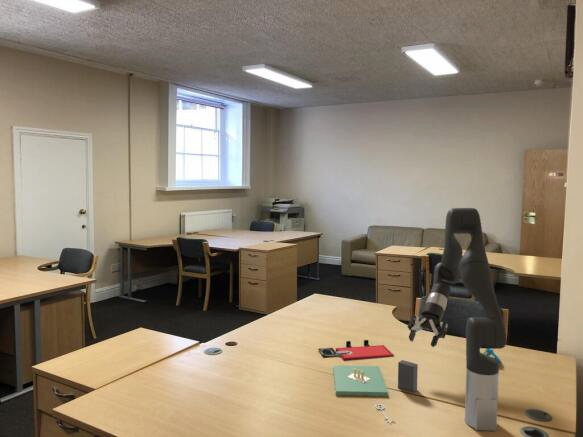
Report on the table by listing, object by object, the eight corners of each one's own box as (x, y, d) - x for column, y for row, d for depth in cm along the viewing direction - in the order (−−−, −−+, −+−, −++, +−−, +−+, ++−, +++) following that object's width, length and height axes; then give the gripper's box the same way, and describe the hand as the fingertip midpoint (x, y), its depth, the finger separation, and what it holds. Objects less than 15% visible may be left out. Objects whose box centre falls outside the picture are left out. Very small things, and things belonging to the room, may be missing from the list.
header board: (387, 396, 158) (387, 383, 157) (335, 395, 159) (335, 382, 158) (378, 369, 180) (378, 358, 179) (333, 368, 180) (333, 358, 180)
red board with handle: (316, 349, 202) (326, 363, 187) (317, 343, 202) (326, 356, 187) (380, 345, 208) (393, 358, 193) (380, 339, 208) (394, 351, 193)
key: (382, 405, 152) (373, 406, 152) (382, 402, 152) (373, 403, 151) (396, 424, 140) (385, 425, 140) (396, 421, 140) (385, 422, 140)
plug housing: (401, 384, 166) (402, 359, 165) (417, 389, 162) (417, 364, 162) (397, 387, 164) (398, 362, 163) (413, 392, 160) (413, 366, 159)
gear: (504, 362, 182) (485, 343, 184) (492, 372, 183) (474, 352, 185) (499, 356, 193) (481, 337, 195) (488, 364, 194) (471, 346, 196)
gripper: (415, 298, 180) (400, 334, 172) (450, 304, 171) (436, 342, 163) (420, 308, 184) (407, 343, 177) (455, 315, 175) (442, 352, 167)
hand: (421, 343), depth 170 cm, fingers open, 8 cm apart
